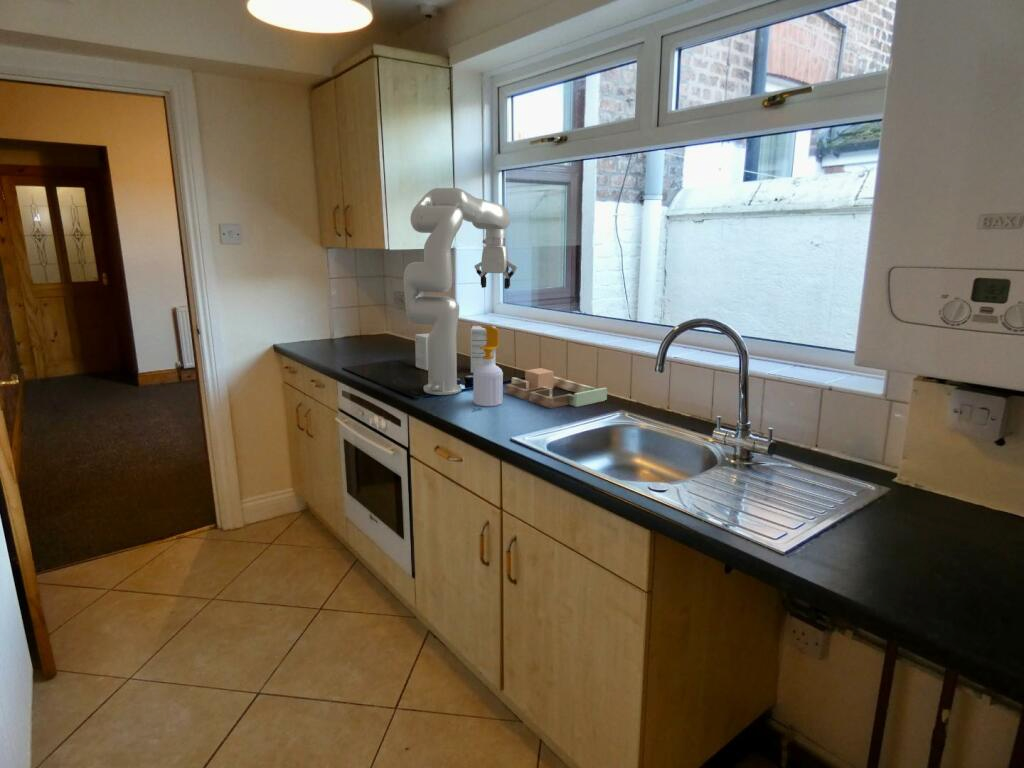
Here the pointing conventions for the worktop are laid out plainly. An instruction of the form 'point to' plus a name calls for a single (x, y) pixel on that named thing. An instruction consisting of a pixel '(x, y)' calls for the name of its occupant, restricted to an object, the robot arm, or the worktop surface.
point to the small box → (421, 350)
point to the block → (539, 378)
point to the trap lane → (546, 392)
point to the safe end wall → (590, 397)
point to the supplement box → (478, 346)
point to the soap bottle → (488, 374)
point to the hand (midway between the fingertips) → (495, 287)
